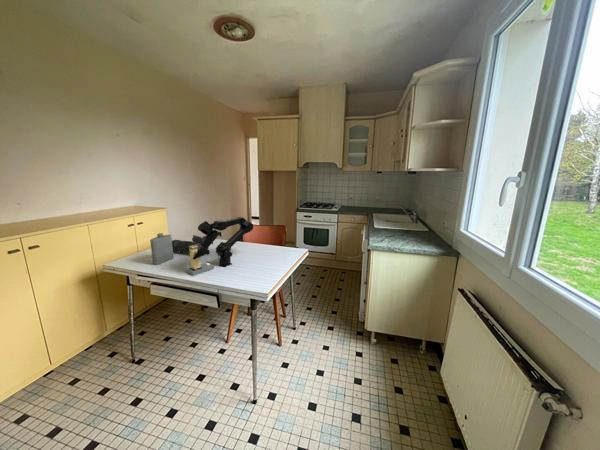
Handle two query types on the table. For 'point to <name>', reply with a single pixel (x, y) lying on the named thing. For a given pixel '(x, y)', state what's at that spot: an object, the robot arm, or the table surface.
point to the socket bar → (200, 269)
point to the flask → (161, 248)
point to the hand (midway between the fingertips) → (192, 257)
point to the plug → (193, 251)
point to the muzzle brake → (182, 246)
